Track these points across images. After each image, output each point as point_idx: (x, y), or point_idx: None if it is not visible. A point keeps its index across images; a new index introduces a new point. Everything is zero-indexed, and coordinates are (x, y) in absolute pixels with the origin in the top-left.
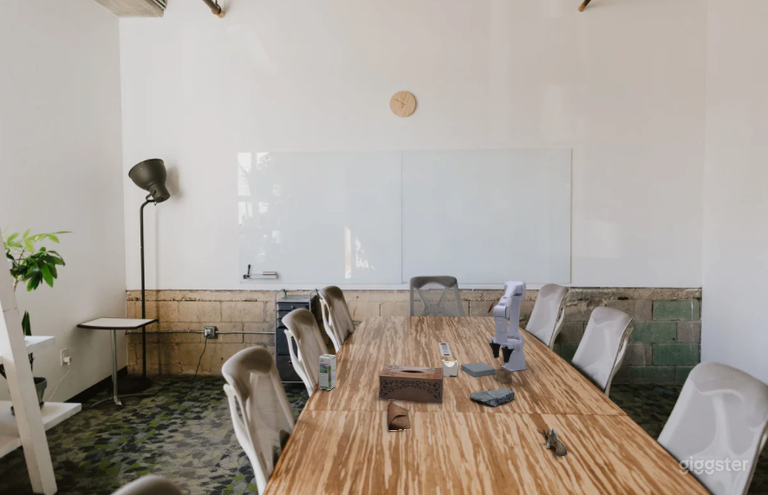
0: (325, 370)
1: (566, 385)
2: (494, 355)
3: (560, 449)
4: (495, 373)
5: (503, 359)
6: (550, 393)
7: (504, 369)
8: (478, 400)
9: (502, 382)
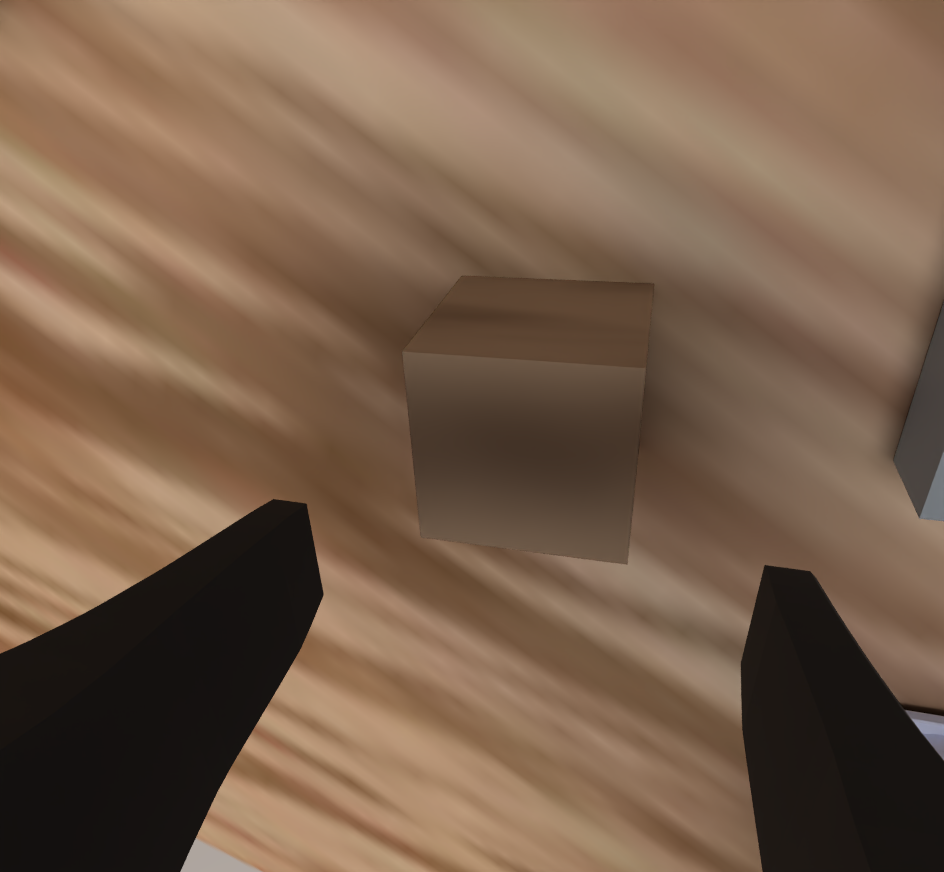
0: None
1: (240, 760)
2: (778, 625)
3: None
4: (897, 464)
5: (249, 546)
6: (68, 535)
7: (561, 507)
8: None
9: (462, 281)
